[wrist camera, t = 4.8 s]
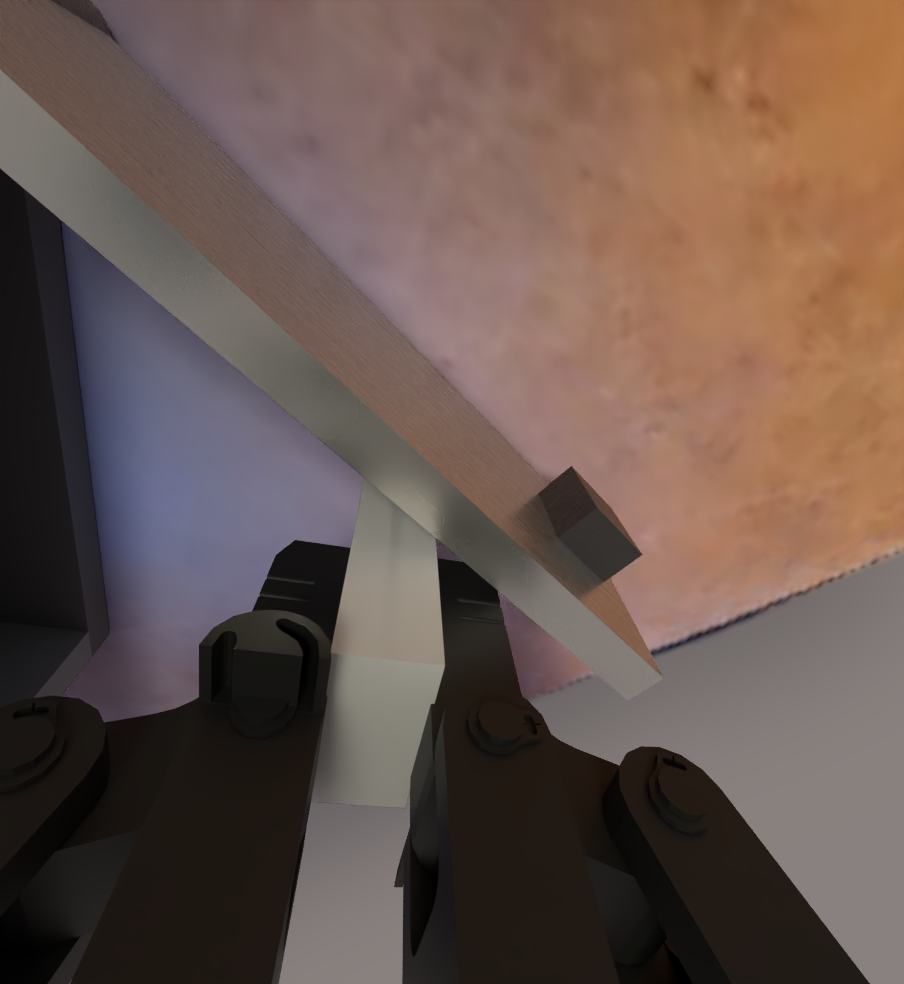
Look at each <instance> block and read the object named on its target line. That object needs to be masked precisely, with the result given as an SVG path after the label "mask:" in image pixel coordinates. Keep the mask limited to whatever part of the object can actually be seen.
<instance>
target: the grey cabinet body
mask: <svg viewBox="0 0 904 984" xmlns="http://www.w3.org/2000/svg"><path fill="white" fill-rule="evenodd" d="M109 634H110V632H109V624H108V616H107V607H106V599H105V591H104V583H103V574H102V566H101V558H100V550H99V541H98V533H97V525H96V517H95V508H94V500H93V492H92V484H91V475H90V467H89V459H88V451H87V442H86V434H85V426H84V418H83V409H82V401H81V393H80V385H79V376H78V368H77V360H76V352H75V343H74V335H73V327H72V319H71V310H70V302H69V294H68V286H67V277H66V269H65V261H64V253H63V244H62V236H61V228H60V220H59V218H58V217H57V216H56V215H55V214H53V213H52V212H51V211H50V210H49V209H47V208H46V207H45V206H44V205H43V204H42V203H40V202H39V201H38V200H37V199H36V198H35V197H33V196H32V195H31V194H30V193H29V192H27V191H26V190H25V189H24V188H23V187H22V186H20V185H19V184H18V183H17V182H16V181H14V180H13V179H12V178H11V177H10V176H9V175H7V174H6V173H5V172H4V171H3V170H2V169H0V708H1V707H3V706H6V705H9V704H11V703H14V702H17V701H19V700H24V699H31V698H38V697H45V696H52V695H54V696H62V695H63V693H64V692H65V691H66V690H67V688H68V687H69V686H70V684H71V683H72V682H73V680H74V679H75V678H76V677H77V675H78V674H79V673H80V671H81V670H82V669H83V667H84V666H85V665H86V664H87V662H88V661H89V660H90V658H91V657H92V656H93V655H94V653H95V652H96V651H97V649H98V648H99V647H100V645H101V644H102V643H103V642H104V640H105V639H106V638H107V636H108V635H109Z"/></svg>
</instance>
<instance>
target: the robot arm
mask: <svg viewBox="0 0 904 984" xmlns="http://www.w3.org/2000/svg"><path fill="white" fill-rule="evenodd" d="M409 792H410V829H409V832H408V836H407V839H406V842H405V846H404V849H403V852H402V856H401V859H400V863H399V866H398V870H397V875H396V881H395V885H394V887H402V886H403V884H404V886H403V888H404V889H403V980H402V982H403V983H402V984H870V983H869V982H868V981H867V979H866V978H865V977H864V976H863V974H862V973H861V972H860V970H859V969H858V968H857V966H856V965H855V964H854V962H853V961H852V960H851V958H850V957H849V956H848V955H847V953H846V952H845V951H844V949H843V948H842V947H841V945H840V944H839V943H838V941H837V940H836V939H835V938H834V936H833V935H832V934H831V932H830V931H829V930H828V928H827V927H826V926H825V925H824V923H823V922H822V921H821V919H820V918H819V917H818V915H817V914H816V913H815V911H814V910H813V909H812V908H811V906H810V905H809V904H808V902H807V901H806V900H805V898H804V897H803V896H802V894H801V893H800V892H799V891H798V889H797V888H796V887H795V885H794V884H793V883H792V881H791V880H790V879H789V878H788V876H787V875H786V874H785V872H784V871H783V870H782V868H781V867H780V866H779V865H778V863H777V862H776V861H775V859H774V858H773V857H772V855H771V854H770V853H769V851H768V850H767V849H766V847H765V846H764V845H763V843H762V842H761V841H760V840H759V838H758V837H757V836H756V834H755V833H754V832H753V830H752V829H751V828H750V827H749V825H748V824H747V823H746V821H745V820H744V819H743V817H742V816H741V815H740V814H739V812H738V811H737V810H736V808H735V807H734V806H733V804H732V803H731V802H730V800H729V799H728V798H727V797H726V795H725V794H724V793H723V791H722V790H721V789H720V788H719V787H718V786H717V785H716V784H715V782H713V780H712V779H710V777H709V776H708V775H707V774H706V773H705V772H704V771H703V770H702V769H701V768H699V767H698V766H696V765H695V764H693V763H692V762H690V761H689V760H687V759H686V758H684V757H683V756H682V755H679V754H677V753H674V752H671V751H668V750H666V749H663V748H660V747H642V746H641V747H639V748H637V749H635V750H632V751H630V752H628V753H627V754H626V755H625V757H624V759H623V761H622V763H621V764H620V766H619V765H616V764H614V763H611V762H609V761H606V760H604V759H601V758H599V757H596V756H594V755H591V754H588V753H586V752H583V751H580V750H578V749H576V748H574V747H572V746H570V745H568V744H566V743H564V742H562V741H560V740H558V739H557V738H555V737H554V736H553V735H551V733H550V731H549V729H548V727H547V725H546V723H545V721H544V719H543V716H542V715H541V714H540V713H539V712H538V711H537V710H536V709H535V708H534V707H533V705H532V704H531V703H530V702H529V701H528V700H526V699H525V698H523V697H522V694H521V691H520V687H519V682H518V678H517V674H516V669H515V665H514V661H513V656H512V652H511V648H510V644H509V639H508V635H507V631H506V626H505V625H504V618H503V613H502V609H501V608H500V601H499V596H498V592H497V590H496V589H495V588H494V587H493V586H492V585H491V584H489V583H488V582H487V581H486V580H485V579H483V578H482V577H481V576H480V575H479V574H478V573H476V572H475V571H474V570H473V569H472V568H471V567H469V566H468V565H467V564H466V563H465V562H459V561H452V560H445V559H438V558H437V550H436V538H435V537H434V536H433V535H432V534H430V533H429V532H428V531H427V530H426V529H425V528H423V527H422V526H421V525H420V524H419V523H417V522H416V521H415V520H414V519H413V518H412V517H410V516H409V515H408V514H407V513H406V512H405V511H403V510H402V509H401V508H400V507H399V506H397V505H396V504H395V503H394V502H393V501H392V500H390V499H389V498H388V497H387V496H386V495H384V494H383V493H382V492H381V491H380V490H379V489H377V488H376V487H375V486H374V485H373V484H372V483H370V482H369V481H368V480H367V479H366V478H364V483H363V489H362V494H361V499H360V504H359V509H358V514H357V519H356V524H355V529H354V535H353V540H352V545H351V548H347V547H340V546H333V545H326V544H319V543H312V542H305V541H298V540H295V541H293V542H292V543H291V544H290V545H288V546H287V547H286V548H284V549H283V550H282V551H281V552H279V553H278V554H277V555H276V556H275V558H274V561H273V563H272V566H271V568H270V570H269V573H268V575H267V579H266V580H265V582H264V585H263V587H262V589H261V592H260V596H259V597H258V599H257V601H256V604H255V606H254V608H253V611H252V612H248V613H244V614H240V615H237V616H233V617H232V618H230V619H228V620H226V621H225V622H223V623H221V624H219V625H218V626H216V627H214V628H213V629H212V630H211V631H210V632H209V634H208V635H207V636H206V637H205V638H204V640H203V641H202V642H201V643H200V644H199V697H198V698H197V699H195V700H194V701H191V702H189V703H187V704H185V705H182V706H180V707H178V708H176V709H172V710H168V711H164V712H160V713H156V714H152V715H146V716H140V717H134V718H128V719H123V720H117V721H111V722H105V723H104V722H103V720H102V717H101V715H100V713H99V711H98V710H97V709H96V708H94V707H92V706H91V705H89V704H87V703H86V702H84V701H82V700H80V699H77V698H69V697H61V696H54V695H52V696H45V697H38V698H31V699H24V700H19V701H17V702H14V703H11V704H9V705H6V706H3V707H1V708H0V984H69V983H70V982H71V983H70V984H278V983H279V978H280V973H281V967H282V962H283V957H284V951H285V945H286V940H287V935H288V929H289V924H290V918H291V913H292V907H293V902H294V896H295V891H296V885H297V880H298V874H299V869H300V863H301V858H302V852H303V846H304V840H305V833H306V826H307V821H308V815H309V810H310V804H311V802H319V803H334V804H350V805H360V806H376V807H392V808H405V806H406V803H407V799H408V795H409ZM71 980H72V981H71Z"/></svg>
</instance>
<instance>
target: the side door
mask: <svg viewBox="0 0 904 984" xmlns="http://www.w3.org/2000/svg"><path fill="white" fill-rule="evenodd" d="M0 169H2V170H3V171H4V172H5V173H6V174H7V175H9V176H10V177H11V178H12V179H13V180H14V181H16V182H17V183H18V184H19V185H20V186H22V187H23V188H24V189H25V190H26V191H27V192H29V193H30V194H31V195H32V196H33V197H35V198H36V199H37V200H38V201H39V202H40V203H42V204H43V205H44V206H45V207H46V208H47V209H49V210H50V211H51V212H52V213H53V214H55V215H56V216H57V217H58V218H59V219H60V220H62V221H63V222H64V223H65V224H66V225H68V226H69V227H70V228H71V229H72V230H73V231H75V232H76V233H77V234H78V235H79V236H80V237H82V238H83V239H84V240H85V241H86V242H88V243H89V244H90V245H91V246H92V247H93V248H95V249H96V250H97V251H98V252H99V253H100V254H102V255H103V256H104V257H105V258H106V259H108V260H109V261H110V262H111V263H112V264H113V265H115V266H116V267H117V268H118V269H119V270H121V271H122V272H123V273H124V274H125V275H126V276H128V277H129V278H130V279H131V280H132V281H133V282H135V283H136V284H137V285H138V286H139V287H141V288H142V289H143V290H144V291H145V292H146V293H148V294H149V295H150V296H151V297H152V298H154V299H155V300H156V301H157V302H158V303H159V304H161V305H162V306H163V307H164V308H165V309H166V310H168V311H169V312H170V313H171V314H172V315H174V316H175V317H176V318H177V319H178V320H179V321H181V322H182V323H183V324H184V325H185V326H187V327H188V328H189V329H190V330H191V331H192V332H194V333H195V334H196V335H197V336H198V337H199V338H201V339H202V340H203V341H204V342H205V343H207V344H208V345H209V346H210V347H211V348H212V349H214V350H215V351H216V352H217V353H218V354H220V355H221V356H222V357H223V358H224V359H225V360H227V361H228V362H229V363H230V364H231V365H232V366H234V367H235V368H236V369H237V370H238V371H240V372H241V373H242V374H243V375H244V376H245V377H247V378H248V379H249V380H250V381H251V382H253V383H254V384H255V385H256V386H257V387H258V388H260V389H261V390H262V391H263V392H264V393H265V394H267V395H268V396H269V397H270V398H271V399H273V400H274V401H275V402H276V403H277V404H278V405H280V406H281V407H282V408H283V409H284V410H286V411H287V412H288V413H289V414H290V415H291V416H293V417H294V418H295V419H296V420H297V421H298V422H300V423H301V424H302V425H303V426H304V427H306V428H307V429H308V430H309V431H310V432H311V433H313V434H314V435H315V436H316V437H317V438H318V439H320V440H321V441H322V442H323V443H324V444H326V445H327V446H328V447H329V448H330V449H331V450H333V451H334V452H335V453H336V454H337V455H339V456H340V457H341V458H342V459H343V460H344V461H346V462H347V463H348V464H349V465H350V466H351V467H353V468H354V469H355V470H356V471H357V472H359V473H360V474H361V475H362V476H363V477H364V478H366V479H367V480H368V481H369V482H370V483H372V484H373V485H374V486H375V487H376V488H377V489H379V490H380V491H381V492H382V493H383V494H384V495H386V496H387V497H388V498H389V499H390V500H392V501H393V502H394V503H395V504H396V505H397V506H399V507H400V508H401V509H402V510H403V511H405V512H406V513H407V514H408V515H409V516H410V517H412V518H413V519H414V520H415V521H416V522H417V523H419V524H420V525H421V526H422V527H423V528H425V529H426V530H427V531H428V532H429V533H430V534H432V535H433V536H434V537H435V538H436V539H438V540H439V541H440V542H441V543H442V544H443V545H445V546H446V547H447V548H448V549H449V550H450V551H452V552H453V553H454V554H455V555H456V556H458V557H459V558H460V559H461V560H462V561H463V562H465V563H466V564H467V565H468V566H469V567H471V568H472V569H473V570H474V571H475V572H476V573H478V574H479V575H480V576H481V577H482V578H483V579H485V580H486V581H487V582H488V583H489V584H491V585H492V586H493V587H494V588H495V589H496V590H498V591H499V592H500V593H501V594H502V595H504V596H505V597H506V598H507V599H508V600H509V601H511V602H512V603H513V604H514V605H515V606H516V607H518V608H519V609H520V610H521V611H522V612H524V613H525V614H526V615H527V616H528V617H529V618H531V619H532V620H533V621H534V622H535V623H537V624H538V625H539V626H540V627H541V628H542V629H544V630H545V631H546V632H547V633H548V634H549V635H551V636H552V637H553V638H554V639H555V640H557V641H558V642H559V643H560V644H561V645H562V646H564V647H565V648H566V649H567V650H568V651H569V652H571V653H572V654H573V655H574V656H575V657H577V658H578V659H579V660H580V661H581V662H582V663H584V664H585V665H586V666H587V667H588V668H590V669H591V670H592V671H593V672H594V673H595V674H597V675H598V676H599V677H600V678H601V679H602V680H604V681H605V682H606V683H607V684H608V685H610V686H611V687H612V688H613V689H614V690H615V691H617V692H618V693H619V694H620V695H621V696H623V697H624V698H625V699H626V700H627V701H628V700H630V699H631V698H633V697H635V696H636V695H638V694H639V693H641V692H643V691H644V690H646V689H647V688H649V687H651V686H652V685H654V684H655V683H657V682H659V681H660V680H662V679H663V676H662V674H661V672H660V670H659V669H658V667H657V665H656V663H655V661H654V659H653V657H652V655H651V653H650V652H649V650H648V648H647V646H646V644H645V642H644V640H643V638H642V636H641V635H640V633H639V631H638V629H637V627H636V625H635V623H634V621H633V620H632V618H631V616H630V614H629V612H628V610H627V608H626V606H625V605H624V603H623V601H622V599H621V597H620V595H619V593H618V591H617V589H616V588H615V586H614V584H613V582H612V580H611V577H612V576H613V575H615V574H616V573H617V572H619V571H620V570H622V569H623V568H624V567H626V566H627V565H629V564H630V563H631V562H633V561H634V560H636V559H637V558H638V557H640V556H641V555H642V554H641V552H640V551H639V549H638V548H637V546H636V545H635V543H634V542H633V540H632V539H631V537H630V536H629V534H628V533H627V531H626V530H625V528H624V527H623V525H622V524H621V522H620V521H619V519H618V518H617V516H616V515H615V513H614V512H613V510H612V509H611V507H610V506H609V505H608V504H607V503H606V502H605V501H604V500H603V499H602V498H601V497H600V496H599V495H598V494H597V493H596V491H595V490H594V489H593V488H592V487H591V486H590V485H589V484H588V483H587V482H586V481H585V480H584V479H583V478H582V477H581V476H580V474H579V473H578V472H577V471H576V470H575V469H574V468H573V467H572V466H571V467H570V468H568V469H567V470H566V471H565V472H564V473H562V474H561V475H560V476H559V477H557V478H556V479H555V480H554V481H553V482H551V483H550V484H549V483H548V482H547V481H546V480H545V479H544V478H543V477H542V476H541V475H540V474H539V473H538V472H537V471H536V470H535V469H534V467H533V466H532V465H531V464H530V463H529V462H528V461H527V460H526V459H525V458H524V457H523V456H522V455H521V454H520V453H519V452H518V451H517V450H516V449H515V448H514V447H513V446H512V445H511V444H510V443H509V442H508V441H507V440H506V439H505V438H504V437H503V436H502V435H501V434H500V433H499V432H498V431H497V430H496V429H495V428H494V427H493V426H492V425H491V424H490V423H489V422H488V421H487V420H486V419H485V418H484V417H483V416H482V415H481V413H480V412H479V411H478V410H477V409H476V408H475V407H474V406H473V405H472V404H471V403H470V402H469V401H468V400H467V399H466V398H465V397H464V396H463V395H462V394H461V393H460V392H459V391H458V390H457V389H456V388H455V387H454V386H453V385H452V384H451V383H450V382H449V381H448V380H447V379H446V378H445V377H444V376H443V375H442V374H441V373H440V372H439V371H438V370H437V369H436V368H435V367H434V366H433V365H432V364H431V363H430V362H429V361H428V359H427V358H426V357H425V356H424V355H423V354H422V353H421V352H420V351H419V350H418V349H417V348H416V347H415V346H414V345H413V344H412V343H411V342H410V341H409V340H408V339H407V338H406V337H405V336H404V335H403V334H402V333H401V332H400V331H399V330H398V329H397V328H396V327H395V326H394V325H393V324H392V323H391V322H390V321H389V320H388V319H387V318H386V317H385V316H384V315H383V314H382V313H381V312H380V311H379V310H378V309H377V308H376V307H375V306H374V304H373V303H372V302H371V301H370V300H369V299H368V298H367V297H366V296H365V295H364V294H363V293H362V292H361V291H360V290H359V289H358V288H357V287H356V286H355V285H354V284H353V283H352V282H351V281H350V280H349V279H348V278H347V277H346V276H345V275H344V274H343V273H342V272H341V271H340V270H339V269H338V268H337V267H336V266H335V265H334V264H333V263H332V262H331V261H330V260H329V259H328V258H327V257H326V256H325V255H324V254H323V253H322V252H321V250H320V249H319V248H318V247H317V246H316V245H315V244H314V243H313V242H312V241H311V240H310V239H309V238H308V237H307V236H306V235H305V234H304V233H303V232H302V231H301V230H300V229H299V228H298V227H297V226H296V225H295V224H294V223H293V222H292V221H291V220H290V219H289V218H288V217H287V216H286V215H285V214H284V213H283V212H282V211H281V210H280V209H279V208H278V207H277V206H276V205H275V204H274V203H273V202H272V201H271V200H270V199H269V198H268V197H267V195H266V194H265V193H264V192H263V191H262V190H261V189H260V188H259V187H258V186H257V185H256V184H255V183H254V182H253V181H252V180H251V179H250V178H249V177H248V176H247V175H246V174H245V173H244V172H243V171H242V170H241V169H240V168H239V167H238V166H237V165H236V164H235V163H234V162H233V161H232V160H231V159H230V158H229V157H228V156H227V155H226V154H225V153H224V152H223V151H222V150H221V149H220V148H219V147H218V146H217V145H216V144H215V143H214V141H213V140H212V139H211V138H210V137H209V136H208V135H207V134H206V133H205V132H204V131H203V130H202V129H201V128H200V127H199V126H198V125H197V124H196V123H195V122H194V121H193V120H192V119H191V118H190V117H189V116H188V115H187V114H186V113H185V112H184V111H183V110H182V109H181V108H180V107H179V106H178V105H177V104H176V103H175V102H174V101H173V100H172V99H171V98H170V97H169V96H168V95H167V94H166V93H165V92H164V91H163V90H162V89H161V88H160V86H159V85H158V84H157V83H156V82H155V81H154V80H153V79H152V78H151V77H150V76H149V75H148V74H147V73H146V72H145V71H144V70H143V69H142V68H141V67H140V66H139V65H138V64H137V63H136V62H135V61H134V60H133V59H132V58H131V57H130V56H129V55H128V54H127V53H126V52H125V51H124V50H123V49H122V48H121V47H120V46H119V45H118V44H117V43H116V42H115V41H114V40H113V39H112V38H111V37H110V33H109V29H108V26H107V24H106V22H105V19H104V18H103V16H102V14H101V13H100V11H99V10H98V8H97V7H96V6H95V5H94V4H93V3H92V2H91V1H90V0H0Z"/></svg>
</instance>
